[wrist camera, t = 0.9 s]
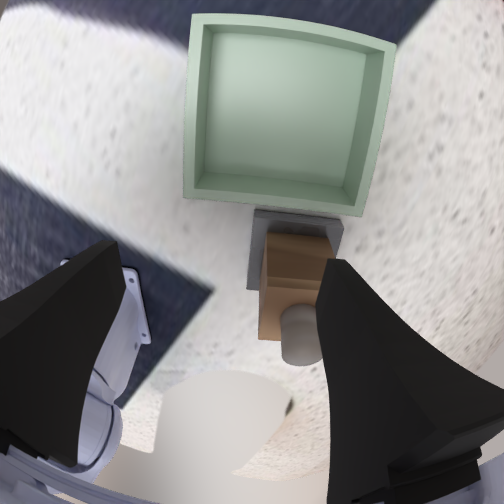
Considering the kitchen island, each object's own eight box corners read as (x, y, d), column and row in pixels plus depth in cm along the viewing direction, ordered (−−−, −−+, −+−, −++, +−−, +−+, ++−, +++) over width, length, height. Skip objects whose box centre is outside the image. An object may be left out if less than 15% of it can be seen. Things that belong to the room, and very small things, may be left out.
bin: (346, 193, 19) (361, 217, 16) (196, 177, 19) (183, 198, 16) (373, 48, 13) (396, 44, 10) (205, 25, 13) (192, 14, 10)
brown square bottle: (315, 286, 22) (331, 376, 15) (259, 281, 22) (257, 373, 15) (328, 238, 19) (357, 327, 13) (266, 231, 19) (267, 323, 13)
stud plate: (321, 285, 23) (331, 332, 19) (247, 279, 23) (243, 327, 19) (340, 219, 20) (359, 261, 16) (254, 209, 20) (252, 250, 16)
